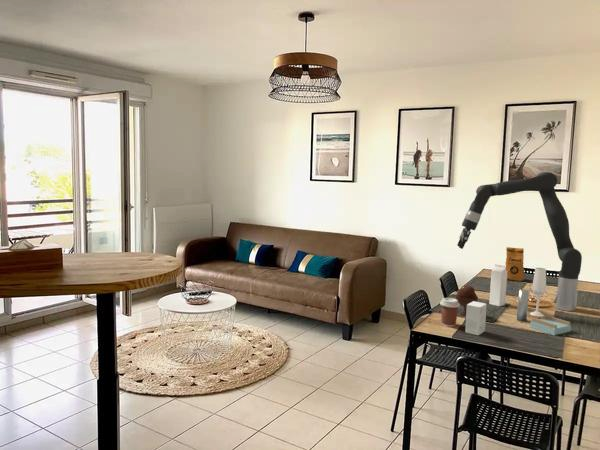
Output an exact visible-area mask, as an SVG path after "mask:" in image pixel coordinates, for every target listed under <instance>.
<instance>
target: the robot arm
mask: <svg viewBox="0 0 600 450" xmlns="http://www.w3.org/2000/svg"><path fill="white" fill-rule="evenodd" d="M558 181H559V180H558V176H556V174H554V173H553V172H550V171H549V172H548V171H542V172H539V173H538V174H536V176H533V177H528V178H522V179H513V180H512V179H511V180H505V181H500V182H496V183H489V184H482V185H479V186H478V187H477V188H476V190H475V193H476V195H475V197H474V200H473V201H472V202H471V204H470V206H469V209H468V210H467V212H466V214H465V216H464V217H463V218H464V219H463V221H462V224H461V227H464V228H462V231H461V233H460V235H459V241H458V242H457V245H456V246H458V248H459V249H462V250H463V249H464V247H465V246H466V245H465V244H466V243H468V241H469V238H470V237H471V236H470V235H471V234H472V231H476V229H477V226H478V225H479V223H480V220H481V218H482V214H483V211H484V209H485V207H486V205H487V203H488V201H490V200H489V199H490V198H491V197H494V196H504V195H511V194H516V193H521V192H525V191H534V190H537V191H538V193H539V195H540V198H541V200H542V205H543V207H544V211H545V215H546V218H547V221H548V225H549V228H550V230H551V234H552V236H553V238H554V241H555V244H556V245H555V246H556V249H557V255H558V259H559V260H560V261H561V268H560V270H558V280H557V290H556V292H557V293H556V303H555V308H556V309H558V310H561V311H565V312H574V311H576V310H577V303H578V284H579V275H580V273H581V269H582V262H583V261H582V259H583V258H582V257H583V256H582V252H580V251H579V250H578V249H576V248H575V247H574V245H573V242H572V240H571V237H570V223H569V218H568V215H567V212H566V209H565V207H564V205H563V204H562V203H561V200H560V199H559V197H558V196H557V193H556V189H555V187H556V186H557V185H558Z"/></svg>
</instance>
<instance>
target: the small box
mask: <svg viewBox="0 0 600 450" xmlns="http://www.w3.org/2000/svg"><path fill="white" fill-rule="evenodd" d="M486 316H487V303H484V302H479V301H477V302H475V301H473V302H471V303H469V304H467V310H466V316H465V330H464V332H465V333H467V334H470V335H474V336H479V335H481V334H483V333H484V332H486V319H487V317H486Z"/></svg>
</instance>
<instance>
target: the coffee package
mask: <svg viewBox="0 0 600 450" xmlns="http://www.w3.org/2000/svg"><path fill="white" fill-rule="evenodd" d="M505 249H506V256H505V257H506V258H505V259H506V260H505V269H506V270H507V281H508V280H510V281H516V282H523V280H524V278H525V267H524V257H525V256H524V248H521V247H508V246H506V248H505Z"/></svg>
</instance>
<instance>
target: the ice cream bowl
mask: <svg viewBox="0 0 600 450" xmlns="http://www.w3.org/2000/svg"><path fill="white" fill-rule="evenodd" d="M476 293H477V292H476V289H475V288H474V287H473V286H471V285H466V286H465V287H462V288H459V289H458V290H457V294H455V299H457V300H458V303H459V304H460V306H462V307H463V309H464V310H463V311H461V312H459V315H461V316H462V317H463V316H464V317H466V310H467V304H469V303H471V302H473V301H475V302H478V299H479V297H478V295H477V294H476Z"/></svg>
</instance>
